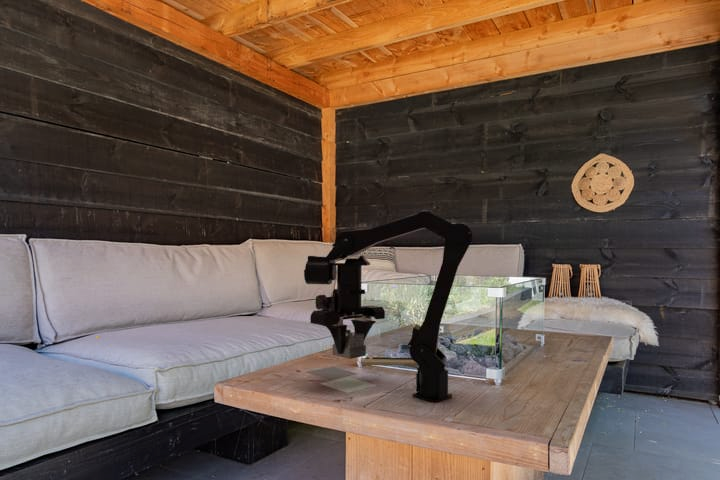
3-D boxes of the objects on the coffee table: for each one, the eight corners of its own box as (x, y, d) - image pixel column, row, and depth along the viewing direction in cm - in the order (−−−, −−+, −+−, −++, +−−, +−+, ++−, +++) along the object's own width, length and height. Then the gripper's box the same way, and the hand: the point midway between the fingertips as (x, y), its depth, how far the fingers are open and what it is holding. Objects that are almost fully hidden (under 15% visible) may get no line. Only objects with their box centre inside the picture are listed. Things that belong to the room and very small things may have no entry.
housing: (348, 351, 115) (348, 328, 115) (365, 355, 110) (365, 331, 111) (332, 354, 111) (332, 331, 112) (349, 358, 107) (349, 334, 107)
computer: (414, 365, 138) (414, 354, 139) (418, 372, 130) (418, 360, 130) (360, 365, 138) (360, 353, 138) (360, 372, 130) (360, 360, 130)
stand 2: (377, 391, 110) (377, 385, 110) (347, 399, 104) (347, 392, 104) (348, 383, 117) (348, 376, 117) (319, 389, 111) (319, 383, 111)
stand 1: (357, 379, 121) (357, 373, 121) (330, 385, 115) (330, 379, 115) (332, 372, 128) (332, 366, 128) (305, 377, 122) (305, 371, 122)
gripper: (355, 282, 124) (355, 342, 123) (296, 285, 111) (295, 352, 110) (386, 284, 116) (386, 348, 115) (326, 287, 103) (326, 360, 102)
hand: (349, 352), depth 111 cm, fingers closed on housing, 5 cm apart
